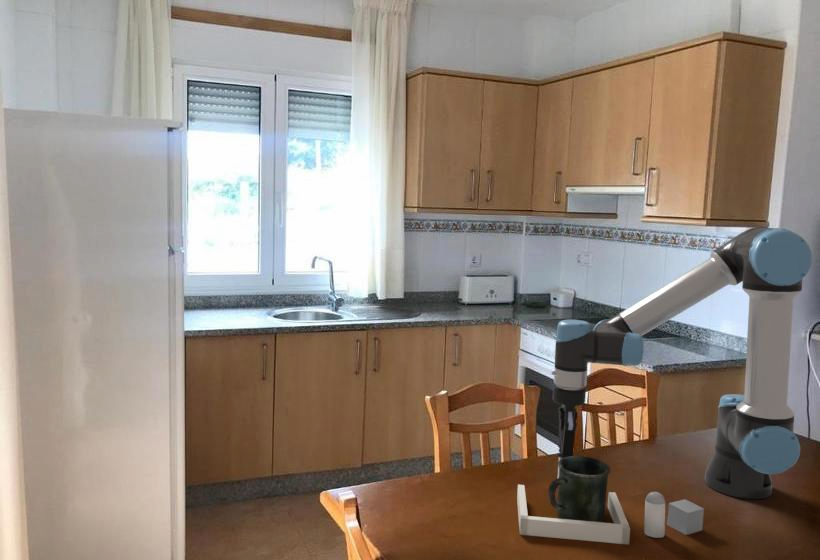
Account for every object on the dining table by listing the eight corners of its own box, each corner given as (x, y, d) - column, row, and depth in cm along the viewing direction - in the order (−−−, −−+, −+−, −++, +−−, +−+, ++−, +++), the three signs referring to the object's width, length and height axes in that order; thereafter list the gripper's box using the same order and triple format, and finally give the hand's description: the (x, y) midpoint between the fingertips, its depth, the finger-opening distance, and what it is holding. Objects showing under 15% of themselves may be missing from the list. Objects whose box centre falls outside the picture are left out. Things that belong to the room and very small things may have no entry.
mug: (617, 523, 148) (621, 470, 146) (564, 537, 141) (568, 482, 139) (582, 502, 157) (586, 452, 155) (532, 514, 150) (535, 462, 149)
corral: (614, 507, 155) (615, 492, 155) (628, 544, 139) (630, 528, 138) (517, 498, 158) (517, 484, 157) (519, 534, 141) (520, 518, 141)
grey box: (701, 530, 146) (704, 508, 145) (685, 535, 144) (687, 513, 143) (682, 520, 150) (684, 499, 150) (666, 525, 148) (668, 503, 147)
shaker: (648, 528, 146) (650, 487, 146) (667, 533, 143) (668, 492, 143) (641, 533, 143) (642, 492, 143) (660, 539, 140) (661, 497, 140)
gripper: (550, 377, 167) (545, 469, 170) (556, 392, 154) (550, 491, 157) (582, 379, 166) (575, 471, 169) (590, 394, 153) (583, 494, 156)
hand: (563, 481), depth 163 cm, fingers closed
